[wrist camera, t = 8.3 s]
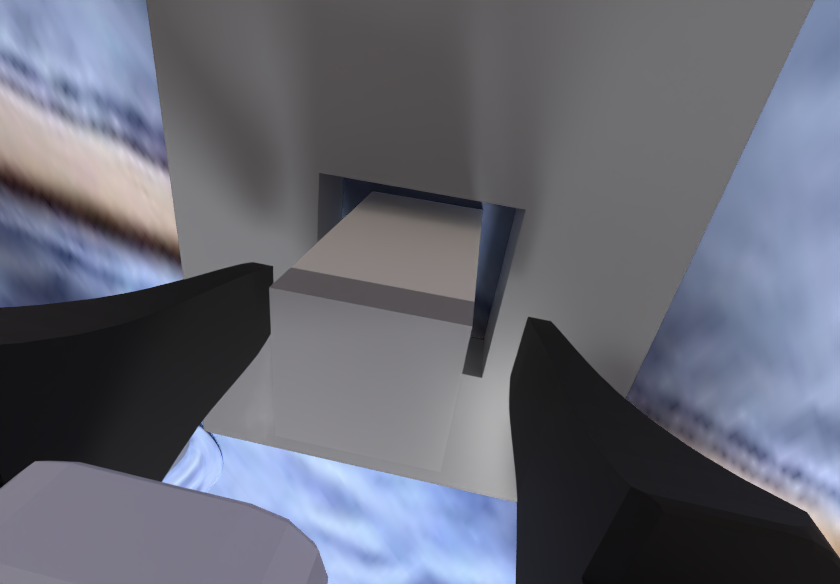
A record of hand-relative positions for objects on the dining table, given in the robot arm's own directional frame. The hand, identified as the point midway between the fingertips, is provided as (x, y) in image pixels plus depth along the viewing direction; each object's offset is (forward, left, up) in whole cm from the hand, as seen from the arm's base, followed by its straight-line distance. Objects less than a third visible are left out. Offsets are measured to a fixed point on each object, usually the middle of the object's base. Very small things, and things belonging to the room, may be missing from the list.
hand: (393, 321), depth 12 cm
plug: (0, 0, -5) cm, 5 cm away
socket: (0, 0, -5) cm, 5 cm away
